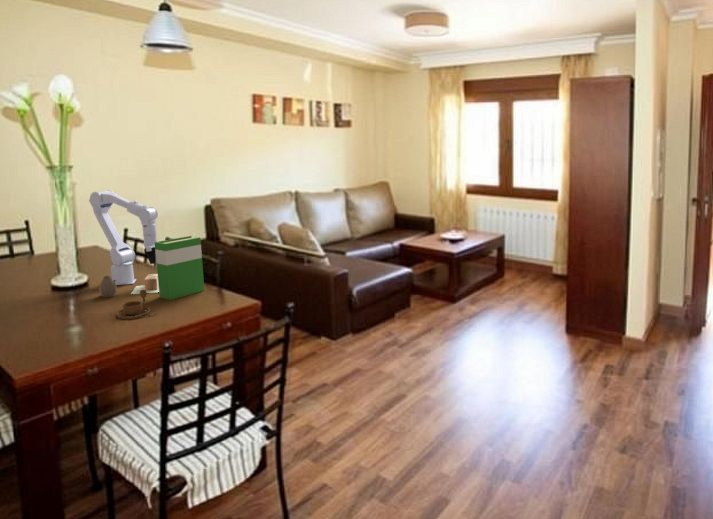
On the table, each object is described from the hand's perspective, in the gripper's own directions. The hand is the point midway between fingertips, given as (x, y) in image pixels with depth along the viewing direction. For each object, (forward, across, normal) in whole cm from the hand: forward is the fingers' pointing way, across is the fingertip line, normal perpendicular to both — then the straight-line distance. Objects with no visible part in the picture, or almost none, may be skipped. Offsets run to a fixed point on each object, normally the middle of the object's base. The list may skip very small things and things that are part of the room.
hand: (152, 263), depth 251 cm
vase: (+10, -14, +17) cm, 24 cm away
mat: (+10, -8, 0) cm, 13 cm away
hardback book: (+10, -18, -14) cm, 25 cm away
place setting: (+11, -40, 0) cm, 41 cm away
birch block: (+7, 0, 0) cm, 7 cm away
